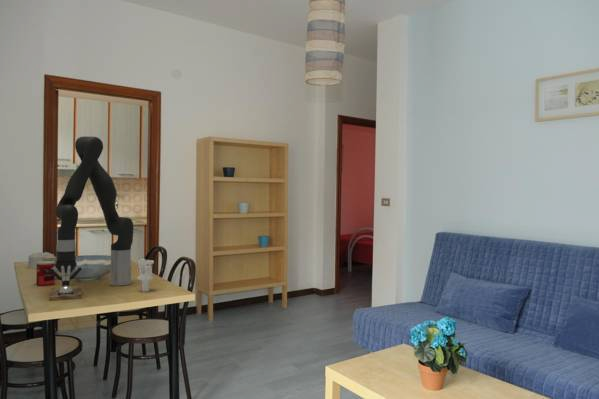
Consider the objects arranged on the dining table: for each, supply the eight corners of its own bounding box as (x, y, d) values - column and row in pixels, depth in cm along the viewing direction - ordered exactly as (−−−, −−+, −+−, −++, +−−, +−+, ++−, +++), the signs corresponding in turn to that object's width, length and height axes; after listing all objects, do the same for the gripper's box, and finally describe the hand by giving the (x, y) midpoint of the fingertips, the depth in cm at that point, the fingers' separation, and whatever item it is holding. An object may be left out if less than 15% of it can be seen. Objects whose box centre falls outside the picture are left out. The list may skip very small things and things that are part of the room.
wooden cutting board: (80, 289, 215) (80, 286, 214) (81, 298, 197) (81, 294, 197) (51, 291, 209) (51, 288, 209) (49, 300, 191) (49, 297, 191)
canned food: (40, 283, 227) (41, 260, 227) (57, 283, 228) (57, 261, 228) (33, 286, 220) (33, 263, 220) (50, 286, 221) (50, 263, 220)
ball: (72, 284, 198) (72, 296, 197) (72, 284, 202) (72, 296, 202) (59, 285, 196) (59, 297, 195) (59, 286, 200) (59, 297, 199)
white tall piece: (134, 291, 213) (134, 258, 213) (146, 288, 219) (147, 257, 219) (143, 293, 209) (144, 260, 209) (156, 290, 215) (156, 258, 215)
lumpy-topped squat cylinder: (27, 267, 274) (27, 252, 273) (51, 265, 283) (51, 251, 283) (32, 269, 266) (32, 254, 266) (56, 267, 275) (56, 252, 275)
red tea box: (59, 279, 237) (59, 256, 237) (43, 281, 231) (43, 257, 231) (54, 278, 241) (55, 255, 241) (38, 279, 235) (39, 256, 235)
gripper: (82, 248, 209) (82, 286, 209) (49, 249, 203) (49, 288, 203) (82, 250, 202) (82, 289, 202) (48, 251, 196) (48, 291, 197)
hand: (65, 289), depth 203 cm, fingers closed
